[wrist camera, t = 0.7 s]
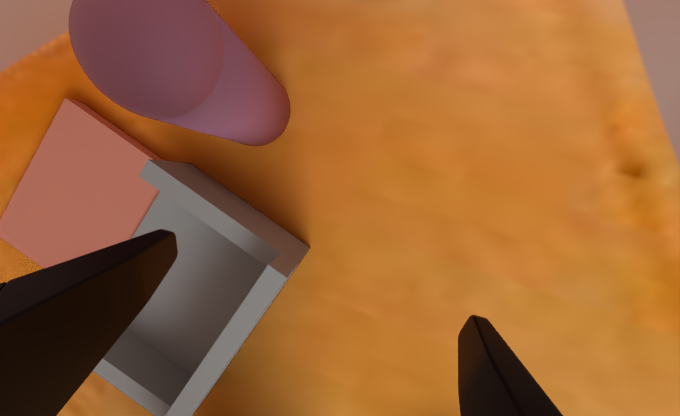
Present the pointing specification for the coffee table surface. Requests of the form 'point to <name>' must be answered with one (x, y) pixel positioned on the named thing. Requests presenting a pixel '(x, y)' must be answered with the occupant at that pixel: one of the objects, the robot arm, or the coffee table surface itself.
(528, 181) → the coffee table surface
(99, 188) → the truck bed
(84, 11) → the yam
